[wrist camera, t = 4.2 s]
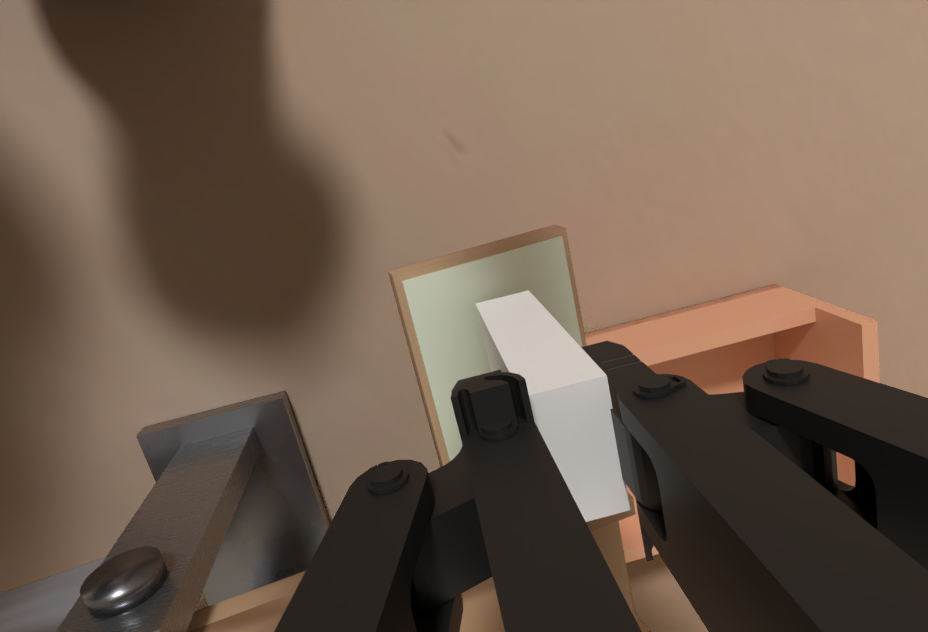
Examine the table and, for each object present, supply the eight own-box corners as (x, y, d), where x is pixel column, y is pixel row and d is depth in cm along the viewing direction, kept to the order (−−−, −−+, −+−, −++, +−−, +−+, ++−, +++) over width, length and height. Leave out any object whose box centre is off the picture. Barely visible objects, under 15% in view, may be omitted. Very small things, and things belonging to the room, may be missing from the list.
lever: (32, 743, 23) (-87, 1012, 16) (-168, 392, 19) (-456, 535, 11) (566, 536, 27) (668, 672, 20) (498, 212, 23) (595, 234, 16)
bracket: (230, 634, 29) (130, 955, 18) (143, 427, 26) (-48, 651, 14) (356, 599, 29) (337, 892, 18) (285, 390, 26) (208, 582, 15)
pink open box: (590, 518, 30) (639, 607, 24) (555, 341, 27) (601, 394, 21) (790, 463, 30) (884, 537, 25) (775, 284, 28) (877, 320, 22)
